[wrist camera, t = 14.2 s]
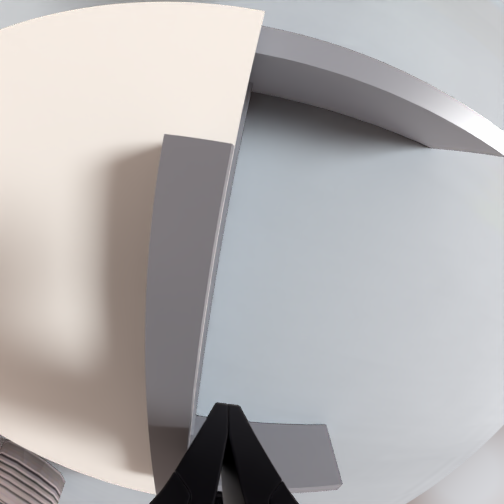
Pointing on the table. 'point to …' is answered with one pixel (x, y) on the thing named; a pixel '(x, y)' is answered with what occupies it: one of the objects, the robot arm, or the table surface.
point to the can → (27, 477)
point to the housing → (368, 110)
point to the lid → (113, 225)
